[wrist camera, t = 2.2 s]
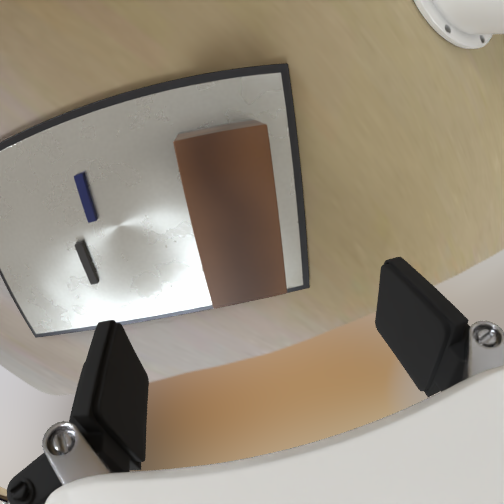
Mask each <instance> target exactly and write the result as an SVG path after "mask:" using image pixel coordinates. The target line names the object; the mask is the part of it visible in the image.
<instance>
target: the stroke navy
mask: <svg viewBox="0 0 504 504" xmlns="http://www.w3.org/2000/svg"><path fill="white" fill-rule="evenodd" d="M74 180H75V183H76V186H77V190H78V193H79V196H80V199H81V203H82V206H83V209H84V212H85V215H86V218H87V221H88V223H91V222H94V221H97V219H98V217H97V214H96V211H95V208H94V205H93V202H92V198H91V195H90V192H89V188H88V185H87V181H86V178H85V174H84V172H83V173H80V174H77V175H75V176H74Z"/></svg>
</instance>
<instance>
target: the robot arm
mask: <svg viewBox="0 0 504 504" xmlns="http://www.w3.org/2000/svg"><path fill="white" fill-rule="evenodd" d="M414 2H415V4H416V6H417V7H418V9H419V10H420V12H421V14H422V15H423V17H424V18H425V19H426V20H427V22H428V23H429V24H430V25H431V26H432V27H433V29H434V30H435V31H436V32H437V33H438V34H440V35H441V36H442V37H443V38H444V39H446V40H447V41H449V42H450V43H452V44H454V45H456V46H458V47H461V48H467V49H477V48H481V47H483V46H485V45H486V44H487V43H488V42H489V41H490V39H491V37H492V34H504V0H414ZM467 323H468V319H467V318H466V317H464V315H463V314H462V313H461V312H460V311H459V310H458V309H457V308H456V307H455V306H454V305H453V304H452V303H451V302H450V301H448V300H447V299H446V298H445V297H444V296H443V295H442V294H441V293H440V292H439V291H438V290H437V289H436V288H435V287H434V286H433V285H432V284H430V283H429V282H428V281H427V280H426V279H425V278H424V277H423V276H422V275H421V274H420V273H418V272H417V271H416V270H415V269H414V268H413V267H412V266H411V265H410V264H408V263H407V262H406V261H405V260H404V259H403V258H401V257H396V258H393V259H389V260H386V261H385V263H384V265H382V267H381V273H380V284H379V294H378V303H377V311H376V320H375V324H376V328H377V330H378V332H379V333H380V334H381V335H382V337H383V339H384V340H385V341H386V343H387V344H388V346H389V347H390V348H391V350H392V351H393V353H394V354H395V355H396V357H397V358H398V360H399V361H400V362H401V364H402V365H403V367H404V368H405V370H406V371H407V373H408V374H409V376H410V377H411V379H412V380H413V381H414V383H415V384H416V386H417V387H418V389H419V390H420V391H424V392H425V393H426V395H427V396H428V397H429V398H427V399H425V400H423V401H421V402H419V403H417V404H414V405H412V406H410V407H408V408H406V409H403V410H401V411H399V412H397V413H394V414H392V415H389V416H387V417H384V418H382V419H379V420H377V421H375V422H372V423H369V424H366V425H364V426H361V427H358V428H355V429H353V430H350V431H347V432H344V433H341V434H338V435H335V436H332V437H329V438H326V439H323V440H319V441H316V442H312V443H309V444H305V445H302V446H298V447H294V448H290V449H286V450H282V451H278V452H274V453H269V454H265V455H260V456H256V457H251V458H246V459H240V460H235V461H229V462H224V463H217V464H210V465H203V466H194V467H186V468H176V469H165V470H154V471H137V472H136V471H135V472H129V470H141V462H143V461H145V449H146V419H147V401H148V385H149V381H148V376H147V373H146V372H145V370H144V368H143V366H142V364H141V362H140V360H139V359H138V357H137V355H136V353H135V351H134V349H133V347H132V345H131V343H130V341H129V339H128V337H127V335H126V333H125V331H124V329H123V327H122V325H121V324H120V323H116V321H115V320H107V321H101V322H98V324H97V326H96V329H95V333H94V336H93V339H92V342H91V345H90V349H89V352H88V356H87V359H86V362H85V363H84V365H83V368H82V372H81V375H80V379H79V383H78V387H77V391H76V394H75V399H74V403H73V407H72V411H71V416H70V420H69V422H64V421H63V422H58V423H56V424H54V425H52V426H51V427H50V428H49V429H48V430H47V432H46V433H45V435H44V438H43V445H42V447H43V450H44V453H43V454H42V455H41V456H39V457H38V458H37V459H36V460H34V461H33V462H32V463H31V464H29V465H28V466H27V467H26V468H25V469H23V470H22V471H21V472H20V473H18V474H17V475H16V476H15V477H14V478H13V479H12V480H11V481H10V483H9V485H8V488H7V498H8V500H9V501H8V503H6V502H3V504H504V332H503V330H502V329H501V328H500V327H499V326H498V325H496V324H494V323H492V322H489V321H478V322H476V323H474V324H473V325H472V326H471V327H470V326H469V325H468V324H467ZM439 391H441V392H440V393H438V392H439ZM436 393H438V394H436ZM434 394H436V395H434ZM432 395H434V396H432ZM430 396H432V397H430Z"/></svg>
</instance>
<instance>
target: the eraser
mask: <svg viewBox="0 0 504 504" xmlns="http://www.w3.org/2000/svg"><path fill="white" fill-rule="evenodd" d="M173 144H174V149H175V154H176V159H177V163H178V168H179V172H180V177H181V181H182V186H183V190H184V195H185V199H186V203H187V208H188V212H189V216H190V220H191V224H192V228H193V233H194V237H195V241H196V245H197V249H198V253H199V257H200V260H201V264H202V268H203V272H204V276H205V280H206V283H207V287H208V291H209V295H210V298H211V302H212V305H213V308H214V309H215V308H220V307H225V306H230V305H235V304H239V303H244V302H249V301H254V300H258V299H263V298H267V297H272V296H276V295H281V294H285V293H287V285H286V275H285V266H284V256H283V247H282V238H281V229H280V221H279V212H278V204H277V196H276V188H275V180H274V172H273V164H272V157H271V149H270V142H269V134H268V127H267V124H264V123H262V122H259V121H256V120H254V119H250V120H243V121H237V122H231V123H225V124H220V125H214V126H209V127H204V128H199V129H194V130H189V131H185V132H180V133H178V135H177V137H176V138H175V140H174V141H173Z"/></svg>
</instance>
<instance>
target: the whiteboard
mask: <svg viewBox="0 0 504 504" xmlns="http://www.w3.org/2000/svg"><path fill="white" fill-rule="evenodd" d="M250 119H254V120H256V121H259V122H262V123H264V124H267V127H268V134H269V142H270V149H271V157H272V164H273V172H274V180H275V188H276V196H277V204H278V212H279V221H280V229H281V238H282V247H283V256H284V266H285V275H286V285H287V293H288V292H293V291H297V290H302V289H306V288H309V287H310V285H309V267H308V251H307V237H306V223H305V211H304V199H303V188H302V177H301V167H300V157H299V148H298V139H297V130H296V122H295V113H294V106H293V98H292V90H291V83H290V76H289V69H288V64H287V63H286V64H274V65H263V66H254V67H246V68H238V69H231V70H225V71H218V72H212V73H207V74H201V75H196V76H191V77H186V78H181V79H177V80H172V81H168V82H163V83H159V84H155V85H151V86H147V87H144V88H140V89H136V90H133V91H129V92H126V93H122V94H119V95H116V96H113V97H109V98H106V99H103V100H100V101H97V102H94V103H91V104H89V105H86V106H83V107H80V108H77V109H75V110H72V111H70V112H67V113H64V114H62V115H59V116H57V117H54V118H52V119H50V120H47V121H45V122H43V123H40V124H38V125H36V126H34V127H31V128H29V129H27V130H25V131H23V132H21V133H19V134H17V135H14V136H12V137H10V138H8V139H6V140H5V141H3V142H1V143H0V275H1V277H2V279H3V281H4V283H5V285H6V287H7V289H8V291H9V293H10V294H11V296H12V298H13V300H14V302H15V304H16V306H17V307H18V309H19V311H20V313H21V314H22V316H23V318H24V319H25V321H26V323H27V324H28V326H29V328H30V329H31V331H32V333H33V334H34V336H35V337H44V336H52V335H59V334H66V333H73V332H80V331H87V330H94V329H96V326H97V324H98V322H101V321H107V320H115V321H116V323H120V324H121V325H126V324H132V323H137V322H143V321H149V320H155V319H160V318H166V317H172V316H177V315H182V314H188V313H193V312H198V311H203V310H208V309H213V305H212V302H211V298H210V295H209V291H208V287H207V283H206V280H205V276H204V272H203V268H202V264H201V260H200V257H199V253H198V249H197V245H196V241H195V237H194V233H193V228H192V224H191V220H190V216H189V212H188V208H187V203H186V199H185V195H184V190H183V186H182V181H181V177H180V172H179V168H178V163H177V159H176V154H175V149H174V144H173V141H174V140H175V138H176V137H177V135H178V133H180V132H185V131H189V130H194V129H199V128H204V127H209V126H214V125H220V124H225V123H231V122H237V121H243V120H250ZM83 172H84V174H85V178H86V181H87V185H88V188H89V192H90V195H91V198H92V202H93V205H94V208H95V211H96V214H97V217H98V219H97V221H94V222H91V223H88V221H87V218H86V215H85V212H84V209H83V206H82V203H81V199H80V196H79V193H78V190H77V186H76V183H75V180H74V176H75V175H77V174H80V173H83ZM81 241H84V244H85V246H86V249H87V252H88V254H89V257H90V259H91V262H92V264H93V267H94V269H95V271H96V274H97V276H98V278H99V283H98V284H93V285H91V284H90V282H89V280H88V277H87V275H86V273H85V270H84V268H83V266H82V263H81V261H80V258H79V256H78V253H77V251H76V248H75V246H74V245H75V244H76V243H77V242H81Z"/></svg>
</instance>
